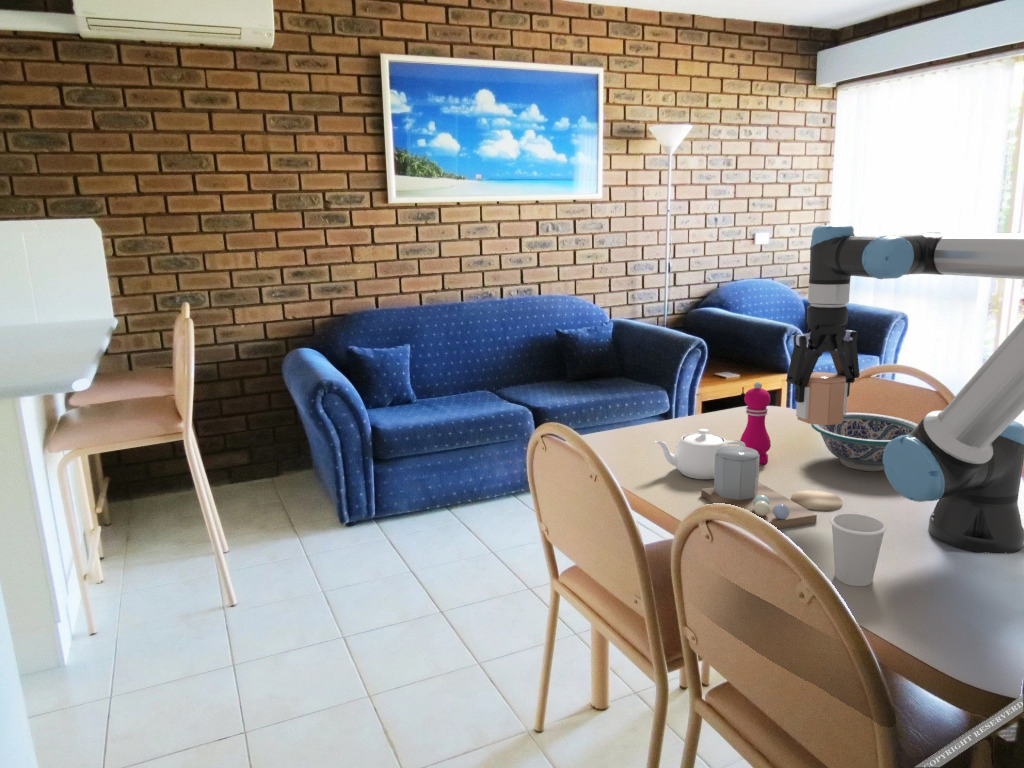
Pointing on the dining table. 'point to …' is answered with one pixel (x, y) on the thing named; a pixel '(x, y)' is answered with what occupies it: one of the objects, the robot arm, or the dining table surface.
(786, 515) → the marble
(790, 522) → the board
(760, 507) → the marble
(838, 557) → the dixie cup
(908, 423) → the bowl
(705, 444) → the teapot
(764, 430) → the pepper mill
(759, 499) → the marble
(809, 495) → the coaster
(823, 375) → the peach faceted canister
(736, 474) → the grey faceted canister
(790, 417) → the dining table surface
